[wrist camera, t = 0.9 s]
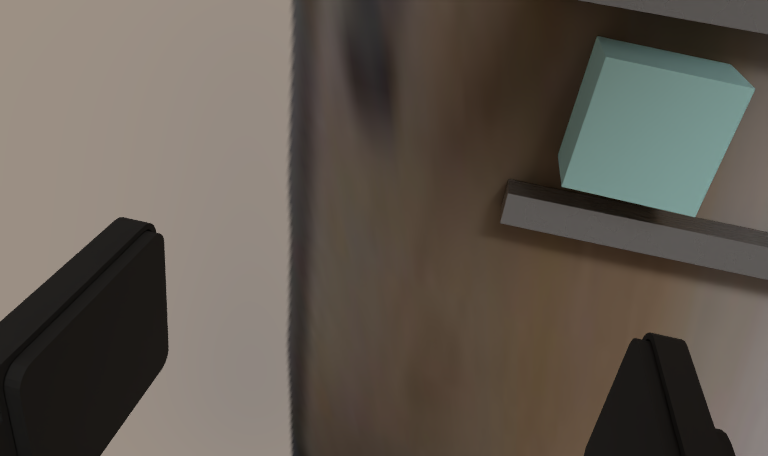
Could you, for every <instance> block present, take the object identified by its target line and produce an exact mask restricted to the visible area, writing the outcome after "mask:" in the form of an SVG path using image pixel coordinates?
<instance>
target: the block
mask: <svg viewBox="0 0 768 456" xmlns="http://www.w3.org/2000/svg"><path fill="white" fill-rule="evenodd" d="M754 91H755V88H754V87H753V86H752V85H751V84H750V83H749V82H748V81H747V80H746V79H745V78H744V77H743V76H742V75H741V74H740V73H739V72H738V71H737V70H736V69H735V68H734V67H733V66H732V65H731V64H727V63H723V62H718V61H713V60H708V59H704V58H699V57H694V56H689V55H685V54H680V53H675V52H671V51H666V50H661V49H656V48H652V47H647V46H642V45H637V44H633V43H628V42H623V41H619V40H614V39H609V38H604V37H600V36H597V38H596V41H595V44H594V47H593V50H592V53H591V56H590V59H589V62H588V65H587V68H586V71H585V74H584V77H583V80H582V83H581V86H580V89H579V92H578V96H577V99H576V102H575V105H574V108H573V111H572V114H571V117H570V120H569V123H568V126H567V129H566V132H565V135H564V138H563V141H562V144H561V147H560V150H559V153H558V161H559V169H560V178H561V186H562V187H565V188H570V189H574V190H578V191H583V192H587V193H591V194H596V195H600V196H605V197H609V198H613V199H618V200H622V201H626V202H631V203H635V204H639V205H644V206H648V207H652V208H657V209H661V210H666V211H670V212H674V213H679V214H683V215H687V216H692V217H695V216H696V214H697V212H698V210H699V208H700V205H701V203H702V201H703V199H704V197H705V195H706V193H707V191H708V189H709V186H710V184H711V182H712V180H713V178H714V176H715V174H716V172H717V169H718V167H719V165H720V163H721V161H722V159H723V157H724V155H725V152H726V150H727V148H728V146H729V144H730V142H731V140H732V138H733V135H734V133H735V131H736V129H737V127H738V125H739V123H740V121H741V119H742V116H743V114H744V112H745V110H746V108H747V106H748V104H749V102H750V99H751V97H752V95H753V93H754Z"/></svg>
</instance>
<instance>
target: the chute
mask: <svg viewBox="0 0 768 456" xmlns="http://www.w3.org/2000/svg"><path fill="white" fill-rule="evenodd" d="M580 1H586V2H591V3H597V4H602V5H608V6H613V7H619V8H625V9H630V10H636V11H641V12H647V13H652V14H658V15H663V16H669V17H675V18H680V19H686V20H691V21H697V22H702V23H708V24H714V25H719V26H725V27H730V28H736V29H741V30H747V31H752V32H758V33H764V34H768V0H580ZM500 223H502V224H506V225H511V226H516V227H521V228H525V229H530V230H535V231H539V232H544V233H549V234H554V235H558V236H563V237H568V238H572V239H577V240H582V241H587V242H591V243H596V244H601V245H605V246H610V247H615V248H620V249H624V250H629V251H634V252H638V253H643V254H648V255H653V256H657V257H662V258H667V259H672V260H676V261H681V262H686V263H690V264H695V265H700V266H705V267H709V268H714V269H719V270H723V271H728V272H733V273H738V274H742V275H747V276H752V277H756V278H761V279H766V280H768V232H764V231H759V230H754V229H749V228H744V227H739V226H735V225H730V224H725V223H720V222H715V221H710V220H705V219H700V218H696V217H691V216H686V215H681V214H676V213H671V212H666V211H662V210H657V209H652V208H647V207H642V206H637V205H632V204H628V203H623V202H618V201H613V200H608V199H603V198H598V197H594V196H589V195H584V194H579V193H574V192H569V191H564V190H560V189H555V188H550V187H545V186H540V185H535V184H530V183H526V182H521V181H516V180H511V179H509V180H508V183H507V187H506V191H505V195H504V199H503V202H502V206H501V217H500Z"/></svg>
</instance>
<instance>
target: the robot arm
mask: <svg viewBox="0 0 768 456" xmlns="http://www.w3.org/2000/svg"><path fill="white" fill-rule="evenodd" d="M167 355H168V326H167V300H166V276H165V253H164V238H163V236H162V235H161V234H159V233H156V229H155V227H154V225H152V224H151V223H147V222H142V221H138V220H133V219H128V218H124V217H120V218H118V219H116V220H115V221H114V222H112V223H111V224H110V225H109V226H108V227H107V228H106V229H105V230H104V231H102V232H101V233H100V234H99V235H98V236H97V237H96V238H94V239H93V240H92V241H91V242H90V243H89V244H88V245H87V246H86V247H84V248H83V249H82V250H81V251H80V252H79V253H77V254H76V255H75V256H74V257H73V258H72V259H71V260H69V261H68V262H67V263H66V264H65V265H64V266H63V267H62V268H60V269H59V270H58V271H57V272H56V273H55V274H54V275H52V276H51V277H50V278H49V279H48V280H47V281H46V282H45V283H43V284H42V285H41V286H40V287H39V288H38V289H37V290H36V291H35V292H33V293H32V294H31V295H30V296H29V297H28V298H26V299H25V300H24V301H23V302H22V303H21V304H20V305H19V306H17V307H16V308H15V309H14V310H13V311H12V312H11V313H9V314H8V315H7V316H6V317H5V318H4V319H3V320H2V321H0V456H100V455H101V454H102V453H103V451H104V450H105V448H106V447H107V445H108V444H109V443H110V441H111V440H112V438H113V437H114V436H115V434H116V433H117V431H118V430H119V429H120V427H121V426H122V424H123V423H124V422H125V420H126V419H127V417H128V416H129V414H130V413H131V412H132V410H133V409H134V407H135V406H136V404H137V403H138V402H139V400H140V399H141V398H142V396H143V395H144V393H145V392H146V390H147V389H148V388H149V386H150V385H151V384H152V382H153V381H154V379H155V378H156V376H157V375H158V374H159V372H160V371H161V369H162V368H163V366H164V364H165V362H166V358H167ZM584 456H735V453H734V450H733V447H732V444H731V442H730V440H729V438H728V436H727V434H726V433H725V432H723V431H722V430H720V429H716V428H715V427H714V424H713V421H712V418H711V415H710V412H709V409H708V406H707V403H706V400H705V397H704V394H703V391H702V388H701V385H700V383H699V380H698V377H697V374H696V371H695V368H694V365H693V362H692V359H691V356H690V353H689V350H688V347H687V344H686V343H685V341H684V340H682V339H677V338H672V337H668V336H663V335H659V334H654V333H647V334H646V335H645V336H644V337H643V339H642V340H641V339H637V338H634V339H633V340H632V341H631V342H630V344H629V347H628V349H627V351H626V354H625V356H624V358H623V361H622V363H621V366H620V368H619V370H618V373H617V375H616V377H615V380H614V382H613V385H612V387H611V389H610V392H609V394H608V396H607V399H606V401H605V404H604V406H603V408H602V411H601V413H600V415H599V418H598V420H597V422H596V425H595V427H594V430H593V432H592V434H591V437H590V439H589V441H588V444H587V446H586V449H585V453H584Z"/></svg>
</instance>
